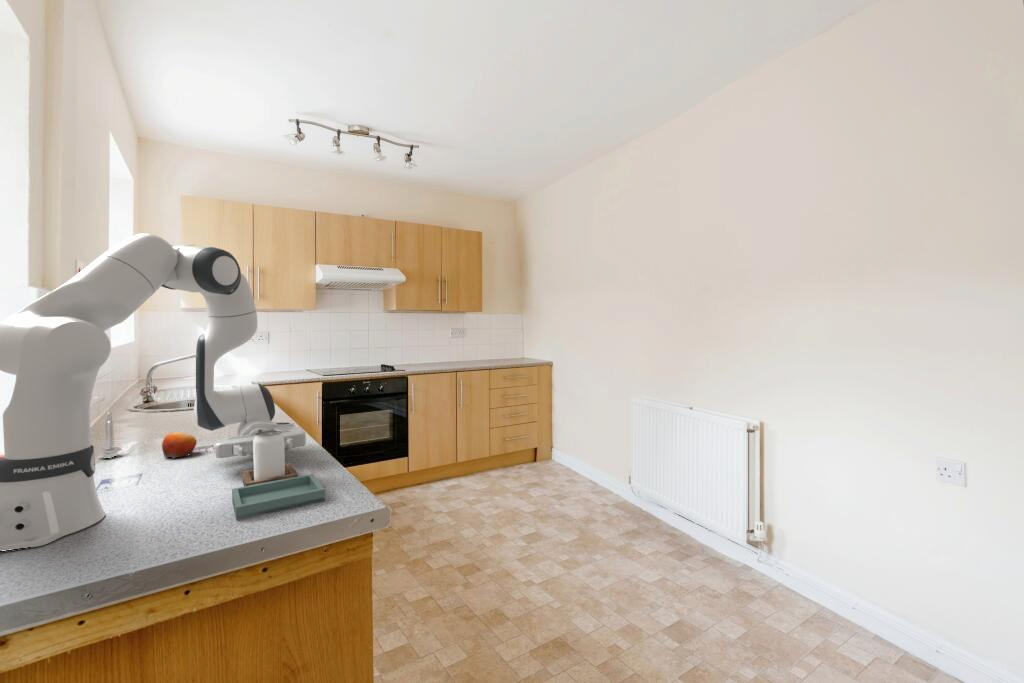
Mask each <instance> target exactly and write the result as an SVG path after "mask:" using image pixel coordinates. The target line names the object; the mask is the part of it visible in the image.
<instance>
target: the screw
mask: <svg viewBox="0 0 1024 683" xmlns="http://www.w3.org/2000/svg"><path fill="white" fill-rule="evenodd" d="M104 425H105V426H104V428H105V446H106V447H105V448H103V449H100V450H99V451H98V454H101V455H103V458H104V457H106V458H108V457H114V456H116V455H117V456H118V452H121V451H122V448H121V447H119V446H115V441H114V440H115V437H114V421H113V413H112V412H110V411H108V412H106V413H105V422H104Z"/></svg>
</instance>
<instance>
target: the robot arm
mask: <svg viewBox="0 0 1024 683" xmlns="http://www.w3.org/2000/svg"><path fill="white" fill-rule="evenodd" d="M161 287H163V288H165V289H169V290H173V291H174V290H178V291H185V292H190V293H200V294H201V295H202V297H203V298H204V300H205V308H206V313H207V320H208V322H207V327H206V330H205V332H204V333H202V334H201V335H200V336H198V339H197V342H196V352H195V354H196V355H195V399H194V405H193V418H194V421H195V423H196V424H197V426H198V427H200V428H202V429H205V430H208V431H216V430H219V429H222V428H225V427H227V426H231V425H236V424H238V426H237V431H236V433H237V435H234V436H226V437H223V438H219V439H218V440H217V441H215V443H213V445H212V448H213V449H215V458H217V459H224V458H230V457H231V458H232V457H238V456H239V457H241V458H242V457H247V456H248V455H250V456H253V440H254V438H255V434H256V433H258V432H262V431H268V430H280V431H282V435H283V436H284V447H285V451H288V450H291V449H293V448H301V447H305V446H306V443H307V437H306V432H305V431H304V429H302V428H301V427H299V426H296V425H295V423H294V422H275V421H273V419H274V418H275V415H276V405H275V401H274V399H273V396H272V394H271V392H270V390H269V389H268V388H267V387H265V385H262V384H261V383H259V382H257V383H253V384H252V383H251V384H246V385H243V386H239V387H234V388H231V389H230V388H229V389H226V390H225V389H224V390H220V391H216V390H215V387H214V386H215V385H214V384H215V380H214V379H215V365H216V363H217V361H218V360H219V359H220V358H221V357H223V356H224V355H226V354H227V353H229V352H231V351H232V350H235V349H237V348H239V347H241V346H243V345H245V344H246V343H247V342H249V340H251V339H252V337H253V336H255V335H256V332H257V331H258V330H257V329H258V313H257V308H256V304H255V303H256V302H255V299H254V295H253V292H252V289H251V286H250V284H249V281H248V279H247V278H246V276H245V275H244V274H242V273H241V267H240V265H239V262H238V260H237V259H236V258H235V256H234V255H233V254H232V253H230V252H229V251H227V250H224V249H222V248H217V247H212V246H210V247H206V246H201V245H200V246H199V245H191V244H190V245H189V244H188V245H187V244H186V245H185V244H183V245H182V244H180V245H171V243H169V242H168V241H167V240H165V239H164V238H162V237H160V236H157V235H155V234H153V233H152V234H151V233H137V234H135V235H134V236H131V237H129V238H127V239H125V240H123V241H121V242H119V243H118V244H116V245H115V246H112V247H111V248H110V249H109V250H107V251H105V252H103V254H101V255H100V256H99V257H97V258H96V259H95V260H93V262H91V263H90V264H89V265H87V266H86V267H85V268H83V269H82V270H81V271H79V272H78V273H77V274H76V275H74V276H73V277H72V278H70V279H69V280H68V281H66V282H65V283H63V284H62V285H60V286H59V287H57V288H56V289H54V290H51V291H50V292H48V293H46V294H45V295H43V296H41V297H40V298H38V299H36V300H34V301H33V302H31V303H29V304H27V305H26V306H24V307H23V308H20V310H18V311H17V312H15V313H14V314H12V315H11V316H9V317H7V318H6V319H4V320H2V321H0V371H1V372H2V373H3V372H4V373H6V374H10V375H14V376H15V383H14V387H13V391H12V395H11V397H10V398H11V399H10V401H9V404H8V405H7V406H6V408H5V409H4V411H3V413H2V429H3V431H2V432H3V446H4V448H3V449H4V454H0V551H2V550H9V549H18V550H20V549H19V548H25V549H28V548H27V547H31V548H35V547H37V548H38V547H41V546H45V545H47V544H48V545H49V544H50V543H52V542H54V541H56V540H58V539H60V538H62V537H64V536H68V535H69V534H74V533H76V532H78V531H81V530H84V529H86V528H89V527H91V526H93V525H94V524H97V523H98V522H100V521H101V520H103V518H104V517H105V516H106V512H105V511H104V509H103V507H102V503H101V502H100V499H99V495H98V492H97V487H96V484H95V477H94V474H95V472H96V452H95V449H94V448H95V446H94V445H93V444H91V424H90V423H91V421H90V420H91V419H90V409H91V408H90V406H91V400H92V394H93V390H94V386H95V383H96V379H97V376H98V373H99V370H100V368H101V367H102V366H103V365H104V364H105V363H106V362H107V360H108V359H109V357H110V354H111V348H112V346H111V341H110V340H111V339H110V338H109V336H108V334H107V333H106V331H107V330H109V329H110V328H113V327H115V326H117V325H119V324H121V323H123V322H125V321H126V320H127V319H128V318H130V317H131V316H132V315H133V314H134V312H136V311H137V310H138V309H139V308H140V307H142V305H143V304H144V303H145V302H146V301H148V300H149V298H150V297H151V296H153V295H154V294H155V293H156V292H157V291H158V290H159V289H161Z"/></svg>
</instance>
